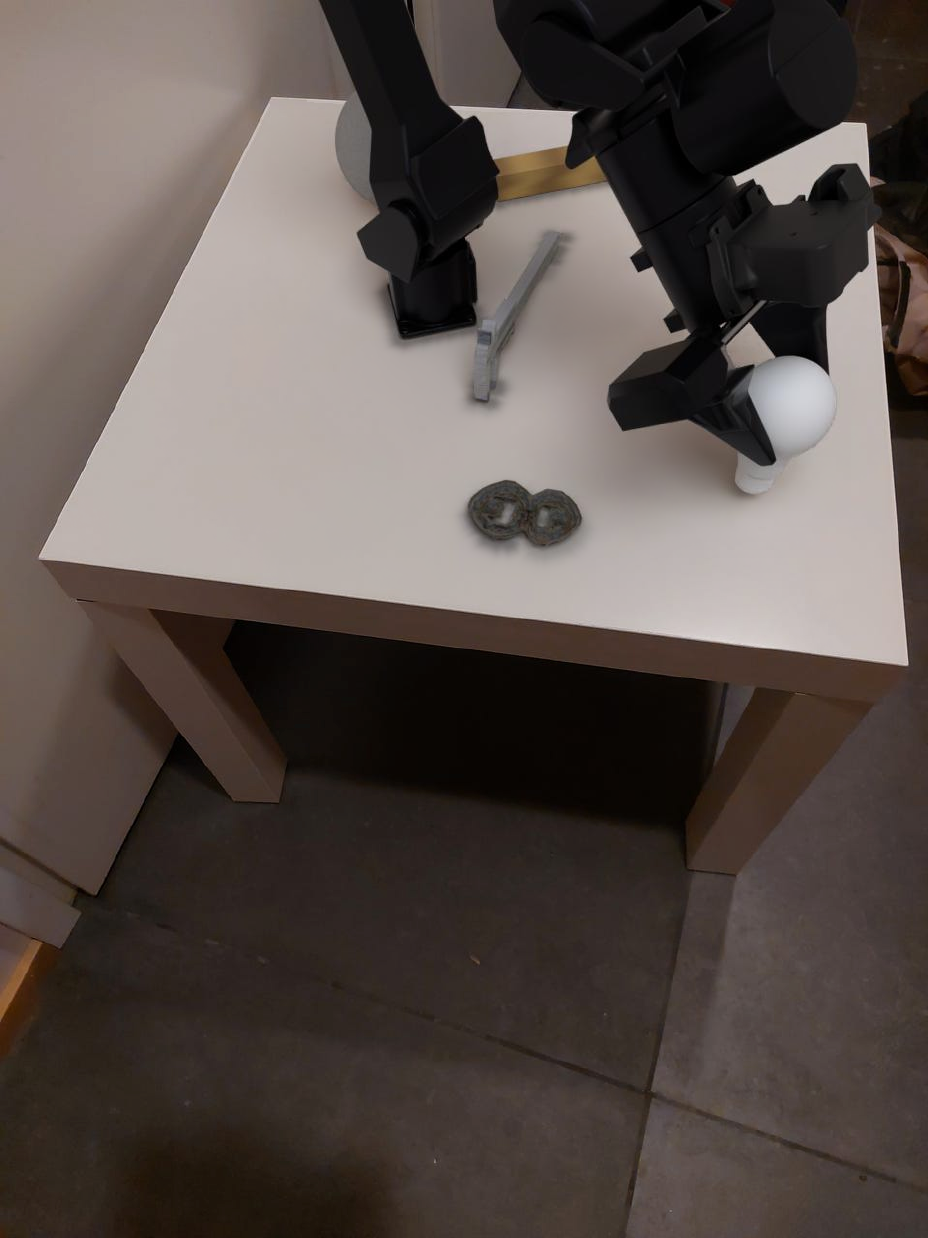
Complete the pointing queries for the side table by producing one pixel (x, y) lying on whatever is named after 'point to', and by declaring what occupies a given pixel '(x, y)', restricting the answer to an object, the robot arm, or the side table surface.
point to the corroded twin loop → (524, 512)
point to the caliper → (508, 318)
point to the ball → (354, 146)
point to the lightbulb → (787, 415)
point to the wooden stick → (542, 173)
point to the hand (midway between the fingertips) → (796, 433)
